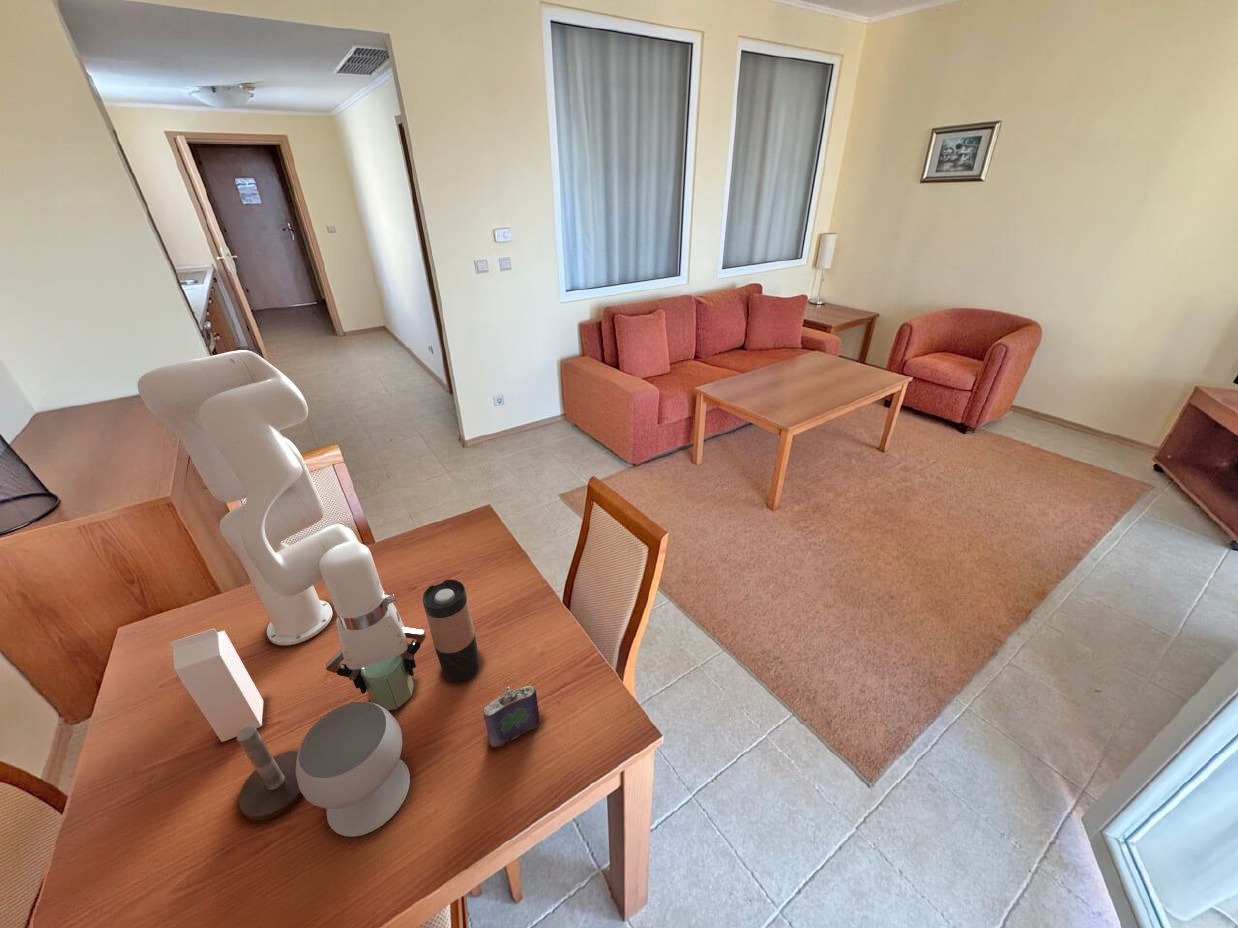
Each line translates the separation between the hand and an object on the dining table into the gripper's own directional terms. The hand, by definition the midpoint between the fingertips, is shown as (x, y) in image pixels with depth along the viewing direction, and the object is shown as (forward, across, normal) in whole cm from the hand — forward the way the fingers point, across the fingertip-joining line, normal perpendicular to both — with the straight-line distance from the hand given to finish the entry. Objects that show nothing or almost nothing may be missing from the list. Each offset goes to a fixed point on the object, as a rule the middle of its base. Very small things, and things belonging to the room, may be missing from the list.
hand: (387, 678), depth 93 cm
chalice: (+5, +5, +18) cm, 19 cm away
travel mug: (+5, -13, 0) cm, 14 cm away
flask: (+5, -19, +18) cm, 26 cm away
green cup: (+4, 0, 0) cm, 4 cm away
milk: (+4, +25, -6) cm, 26 cm away
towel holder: (+4, +18, +10) cm, 21 cm away
